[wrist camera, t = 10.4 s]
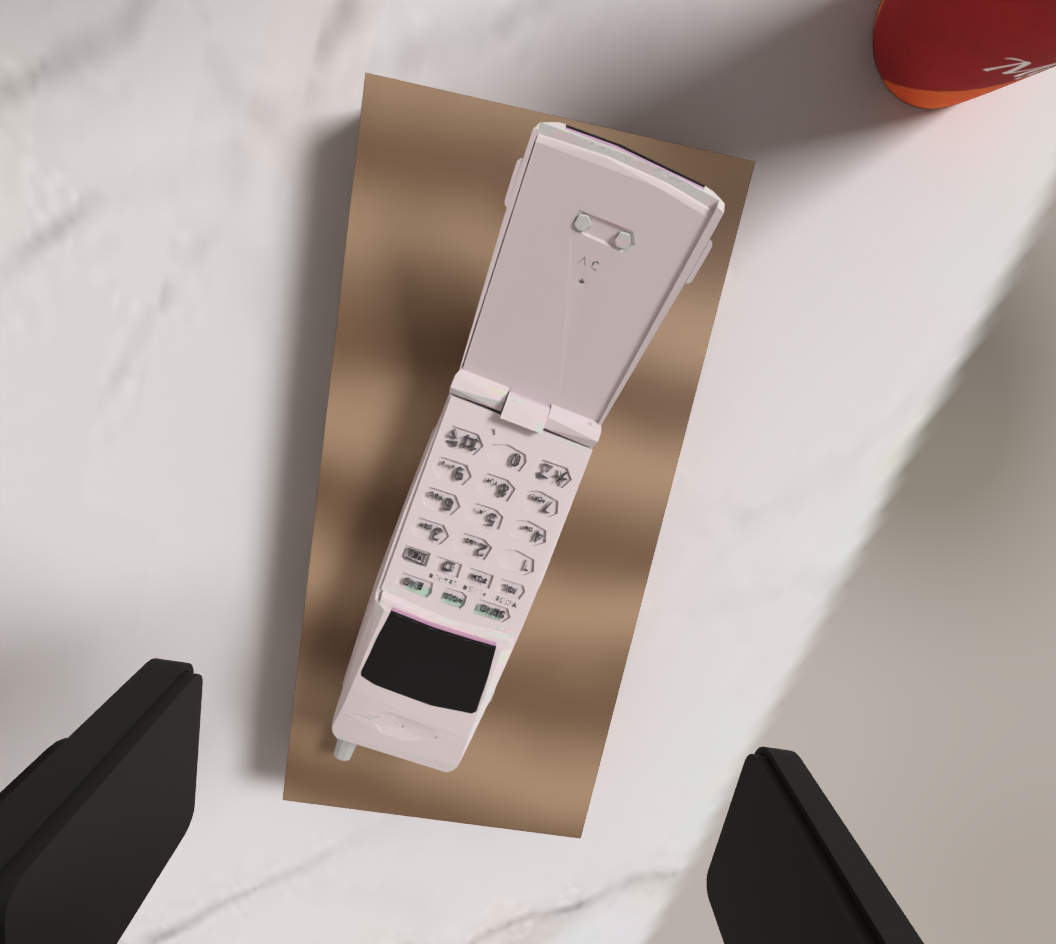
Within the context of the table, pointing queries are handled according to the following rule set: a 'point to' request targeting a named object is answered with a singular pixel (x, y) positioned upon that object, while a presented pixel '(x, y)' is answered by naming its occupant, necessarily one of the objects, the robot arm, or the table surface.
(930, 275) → the table surface
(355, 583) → the walnut stand
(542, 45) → the table surface
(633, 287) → the mobile phone
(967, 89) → the paper cup
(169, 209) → the table surface
